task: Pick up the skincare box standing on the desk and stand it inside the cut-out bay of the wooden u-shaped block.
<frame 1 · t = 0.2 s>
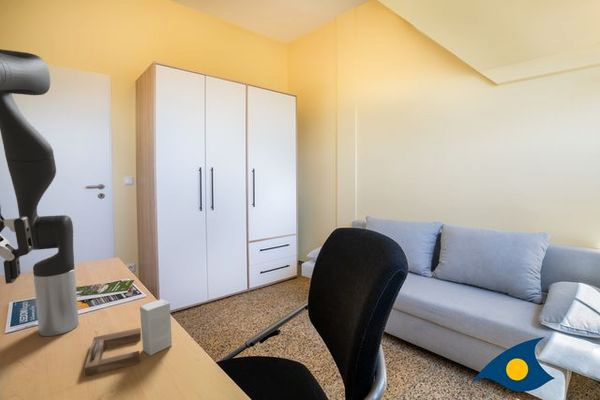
skincare box: (157, 348, 81), on the table
wooden u-shaped block: (115, 353, 78), on the table
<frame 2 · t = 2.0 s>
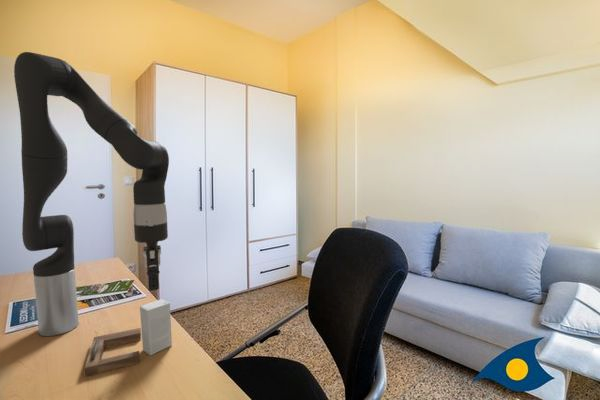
hand: (153, 283, 79), 18 cm above the table, fingers open, 8 cm apart
nothing on the table moved.
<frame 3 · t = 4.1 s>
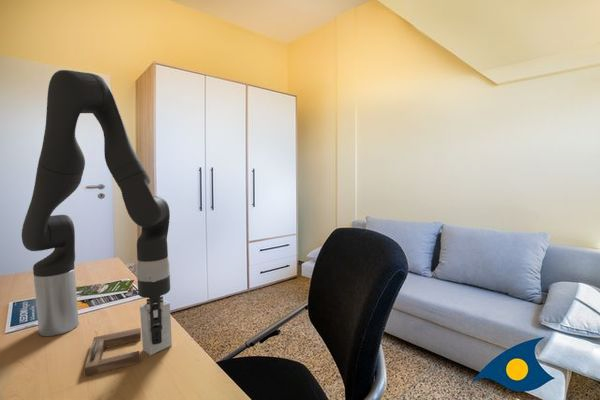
hand: (156, 336, 80), 3 cm above the table, fingers closed on skincare box, 5 cm apart
skincare box: (157, 348, 81), on the table, touching gripper
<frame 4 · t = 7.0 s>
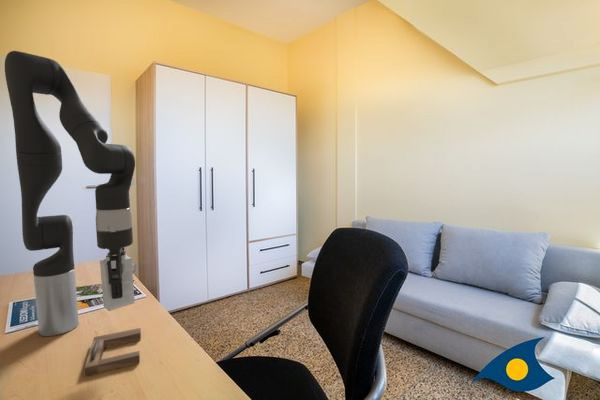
hand: (118, 293, 77), 16 cm above the table, fingers closed on skincare box, 5 cm apart
skincare box: (118, 305, 77), point 13 cm above the table, touching gripper
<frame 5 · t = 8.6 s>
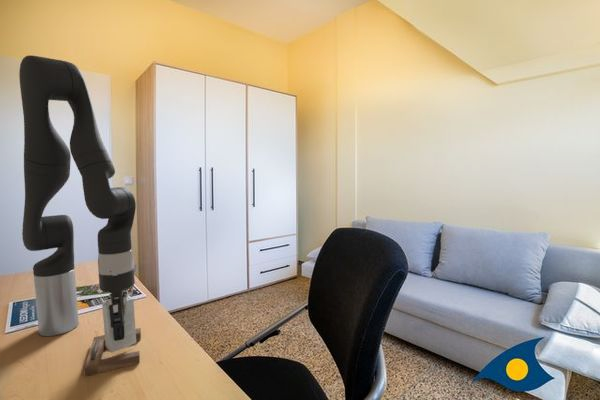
hand: (120, 333, 78), 5 cm above the table, fingers closed on skincare box, 5 cm apart
skincare box: (120, 345, 78), point 2 cm above the table, touching gripper
when the fingers open (4 cm above the table, at t = 9.9 s): skincare box stays where it is, on the table.
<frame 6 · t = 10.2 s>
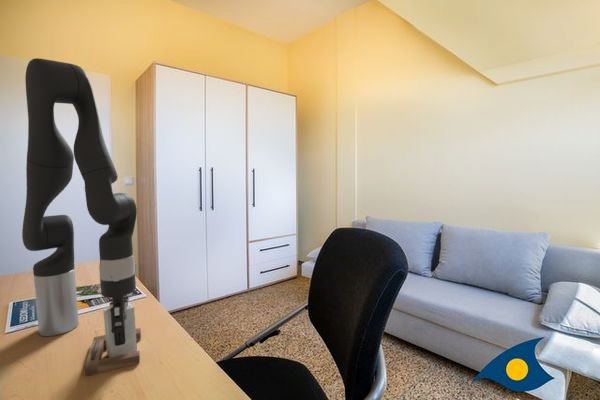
hand: (121, 335, 78), 5 cm above the table, fingers open, 8 cm apart
skincare box: (121, 353, 78), on the table
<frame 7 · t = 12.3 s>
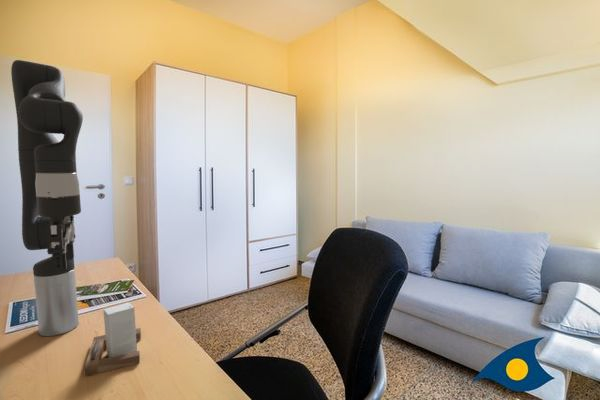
hand: (64, 264, 69), 25 cm above the table, fingers open, 8 cm apart
nothing on the table moved.
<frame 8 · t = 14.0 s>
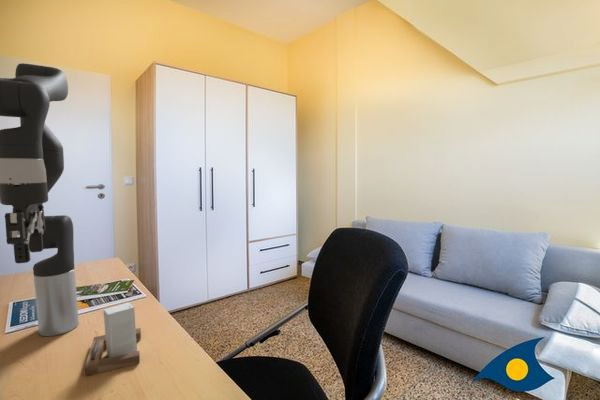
hand: (30, 256, 65), 28 cm above the table, fingers open, 8 cm apart
nothing on the table moved.
at the end: skincare box 0.1 cm from the target spot on the wooden u-shaped block, point 0.0 cm above the wooden u-shaped block's base; skincare box tilted 0°; the gripper is holding nothing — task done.
